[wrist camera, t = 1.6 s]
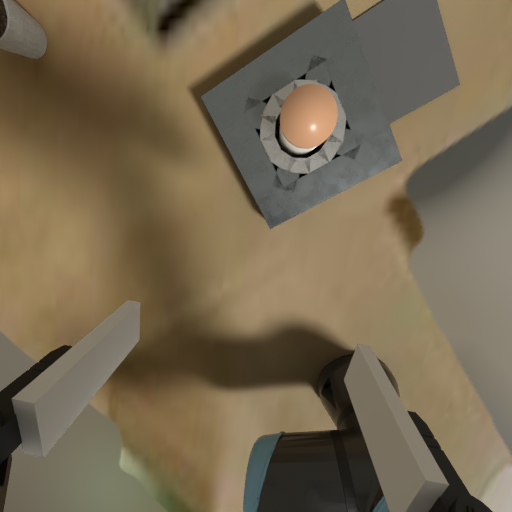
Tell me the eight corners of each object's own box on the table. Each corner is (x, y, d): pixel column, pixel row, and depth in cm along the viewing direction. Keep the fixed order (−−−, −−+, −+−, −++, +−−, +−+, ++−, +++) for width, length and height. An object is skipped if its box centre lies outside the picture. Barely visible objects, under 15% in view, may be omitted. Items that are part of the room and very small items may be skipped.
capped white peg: (325, 144, 37) (346, 129, 26) (289, 165, 38) (295, 158, 27) (308, 104, 35) (323, 71, 25) (271, 127, 36) (270, 104, 26)
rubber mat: (457, 85, 33) (459, 84, 33) (387, 124, 35) (388, 124, 35) (426, -27, 30) (428, -30, 30) (350, 23, 32) (351, 21, 32)
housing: (385, 163, 37) (402, 160, 32) (270, 223, 41) (270, 228, 36) (333, 25, 32) (344, -3, 27) (210, 107, 36) (200, 96, 31)
